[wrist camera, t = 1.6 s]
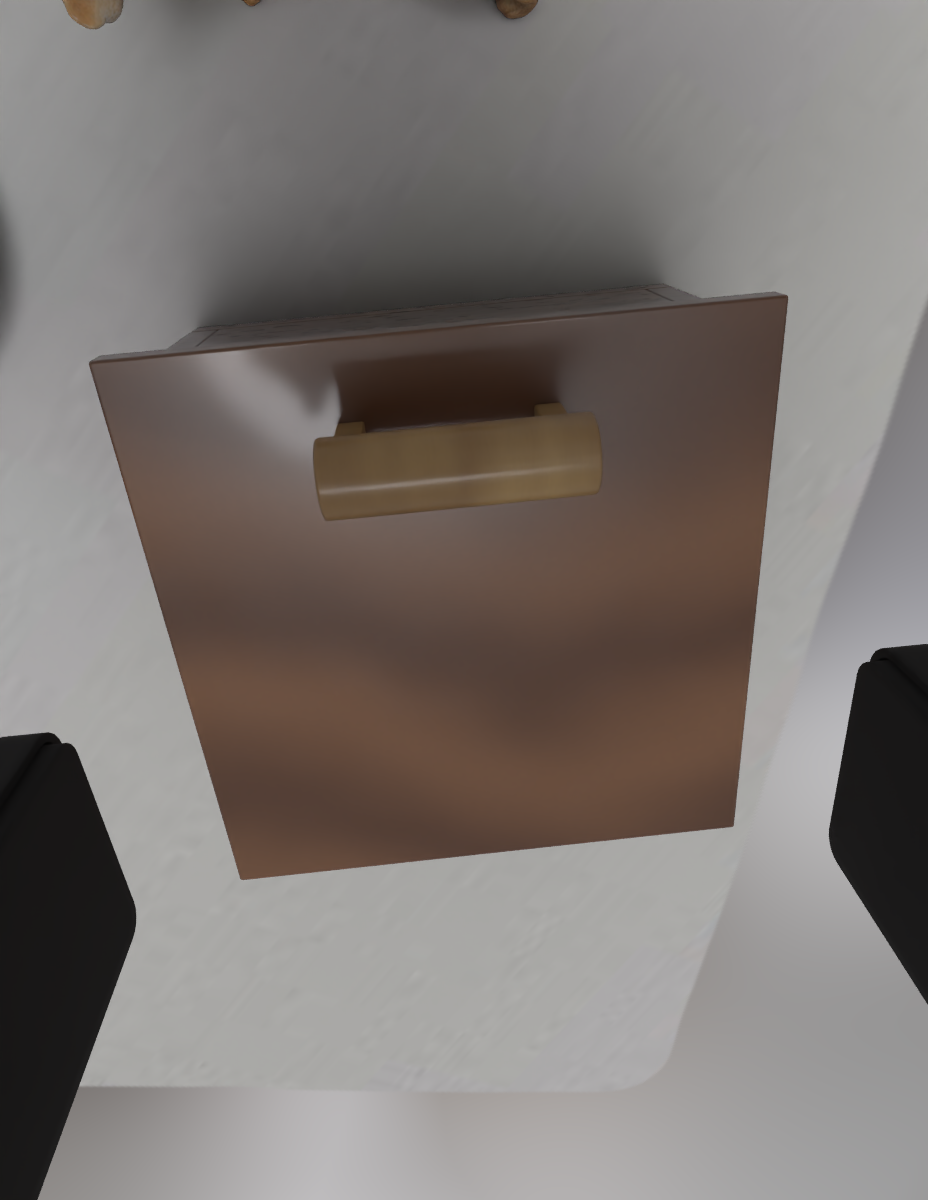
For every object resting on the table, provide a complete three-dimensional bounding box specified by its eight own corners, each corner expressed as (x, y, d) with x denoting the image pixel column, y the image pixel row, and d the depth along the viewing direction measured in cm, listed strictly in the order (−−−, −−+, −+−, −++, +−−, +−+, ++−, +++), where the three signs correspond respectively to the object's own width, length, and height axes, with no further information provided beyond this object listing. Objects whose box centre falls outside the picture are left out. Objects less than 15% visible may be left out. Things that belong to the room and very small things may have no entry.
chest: (196, 327, 28) (107, 386, 20) (665, 283, 29) (772, 323, 20) (281, 705, 36) (244, 862, 28) (651, 666, 37) (725, 810, 28)
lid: (97, 355, 20) (9, 404, 15) (776, 291, 20) (881, 320, 16) (244, 863, 28) (213, 992, 23) (726, 811, 28) (786, 928, 24)
